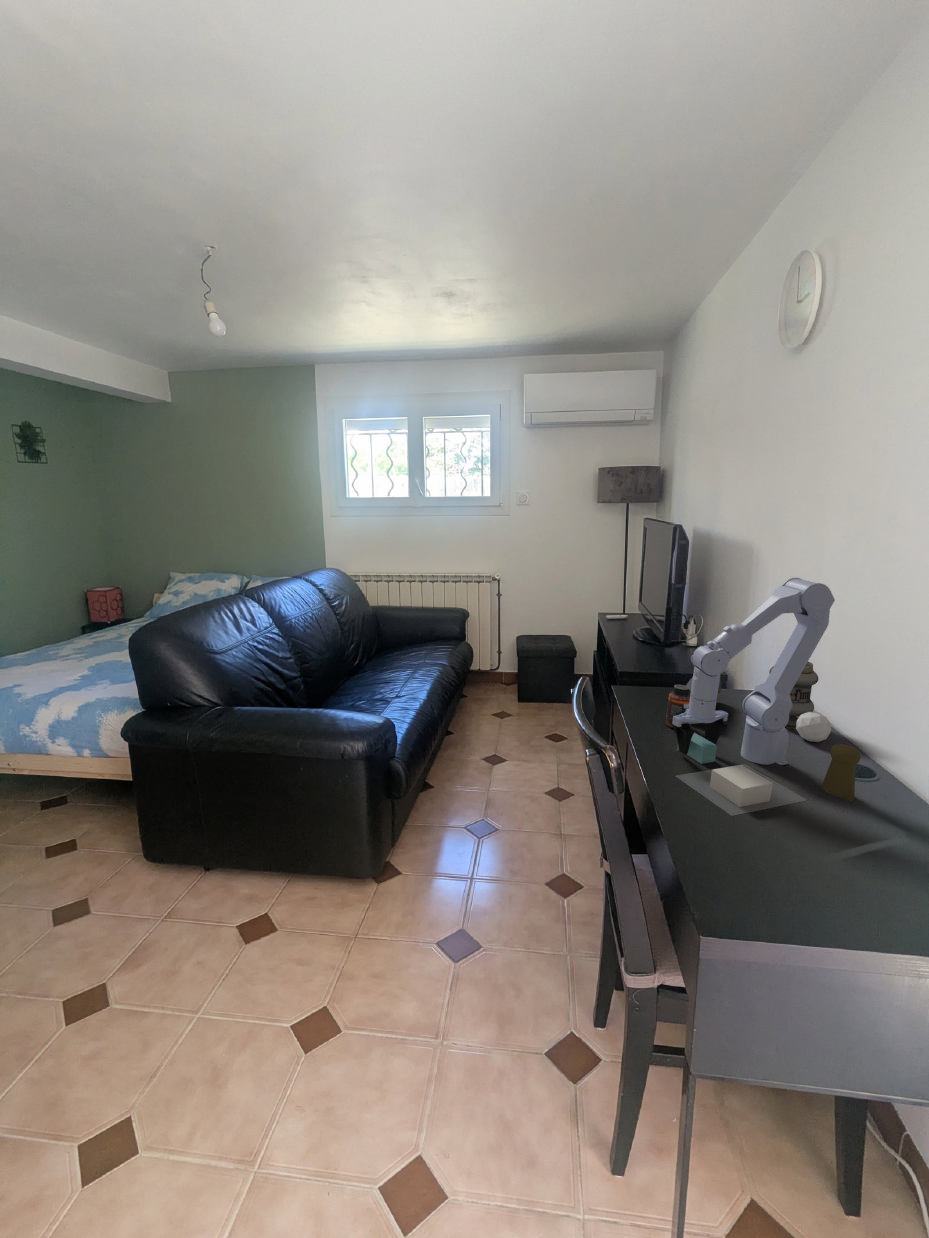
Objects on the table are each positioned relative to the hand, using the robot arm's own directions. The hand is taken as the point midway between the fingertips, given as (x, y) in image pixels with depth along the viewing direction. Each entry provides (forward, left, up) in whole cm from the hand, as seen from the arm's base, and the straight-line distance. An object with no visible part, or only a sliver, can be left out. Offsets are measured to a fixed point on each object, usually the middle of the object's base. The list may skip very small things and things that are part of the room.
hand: (695, 750), depth 129 cm
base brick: (+4, +17, -1) cm, 17 cm away
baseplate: (+2, +15, -2) cm, 15 cm away
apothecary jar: (-42, -11, -2) cm, 44 cm away
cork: (-18, +22, -2) cm, 29 cm away
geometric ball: (-38, 0, -2) cm, 38 cm away
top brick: (0, 0, -2) cm, 2 cm away
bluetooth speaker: (-24, -25, -2) cm, 35 cm away
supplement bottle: (-9, -17, -2) cm, 19 cm away
